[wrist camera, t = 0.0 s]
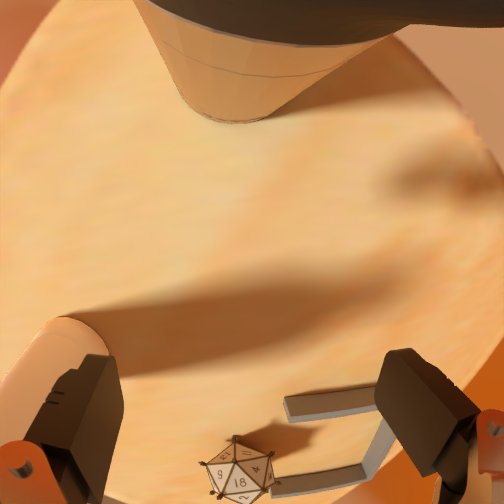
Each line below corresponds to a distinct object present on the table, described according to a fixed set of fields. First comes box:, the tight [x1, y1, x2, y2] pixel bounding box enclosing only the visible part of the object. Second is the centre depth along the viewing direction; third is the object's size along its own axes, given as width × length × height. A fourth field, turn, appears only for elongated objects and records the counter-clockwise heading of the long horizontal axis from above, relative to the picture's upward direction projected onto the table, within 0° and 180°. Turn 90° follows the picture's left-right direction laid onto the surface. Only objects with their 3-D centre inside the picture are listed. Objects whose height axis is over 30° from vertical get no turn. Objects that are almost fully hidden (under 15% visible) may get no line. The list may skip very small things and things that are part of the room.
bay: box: [269, 386, 396, 499], centre depth 32 cm, size 18×15×3 cm
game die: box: [198, 435, 282, 504], centre depth 28 cm, size 9×8×10 cm
